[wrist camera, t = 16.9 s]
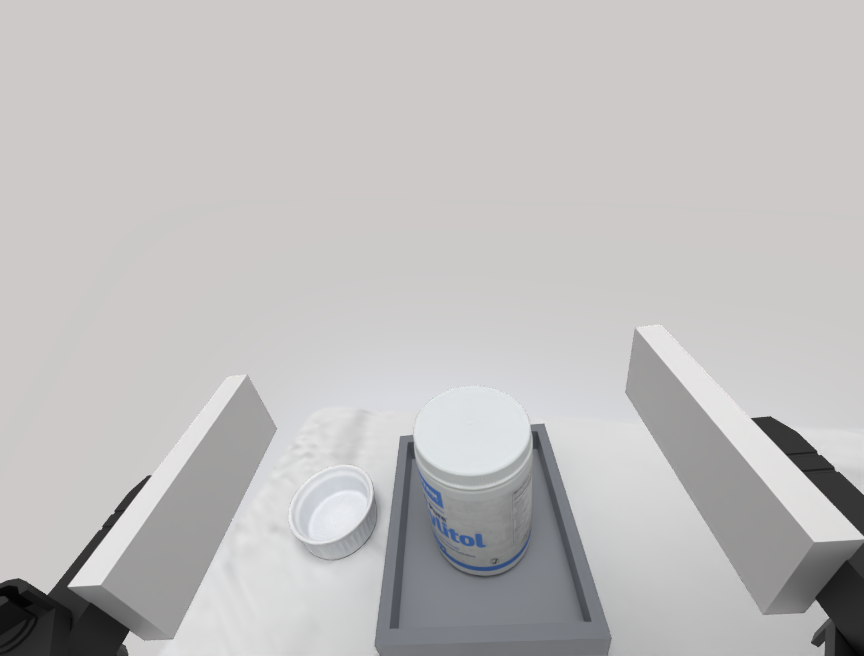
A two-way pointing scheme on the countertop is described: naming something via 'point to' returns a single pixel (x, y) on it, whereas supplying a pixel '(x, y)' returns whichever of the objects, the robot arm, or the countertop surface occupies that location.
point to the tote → (489, 580)
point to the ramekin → (334, 511)
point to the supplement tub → (476, 477)
